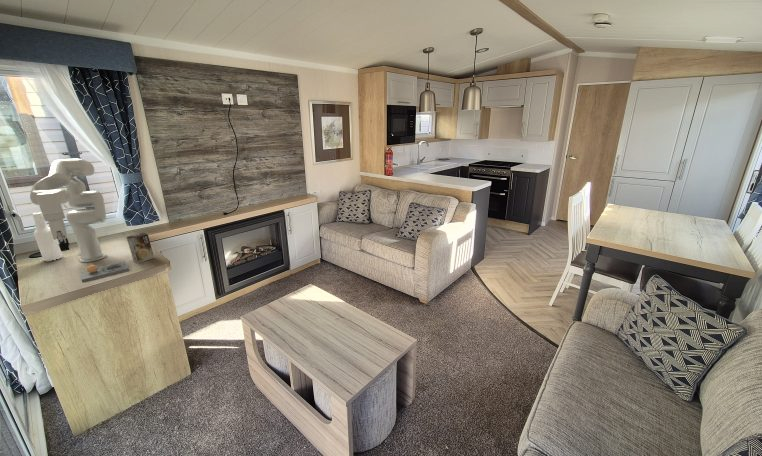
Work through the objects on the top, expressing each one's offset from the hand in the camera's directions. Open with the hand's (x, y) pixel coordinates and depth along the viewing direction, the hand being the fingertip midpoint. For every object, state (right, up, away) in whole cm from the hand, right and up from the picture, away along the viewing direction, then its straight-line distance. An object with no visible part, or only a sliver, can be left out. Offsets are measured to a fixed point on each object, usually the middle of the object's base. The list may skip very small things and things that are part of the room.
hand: (65, 248), depth 165 cm
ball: (+5, -12, +9) cm, 16 cm away
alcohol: (-40, -9, +33) cm, 53 cm away
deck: (+9, -15, +14) cm, 22 cm away
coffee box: (+19, -9, +30) cm, 37 cm away
